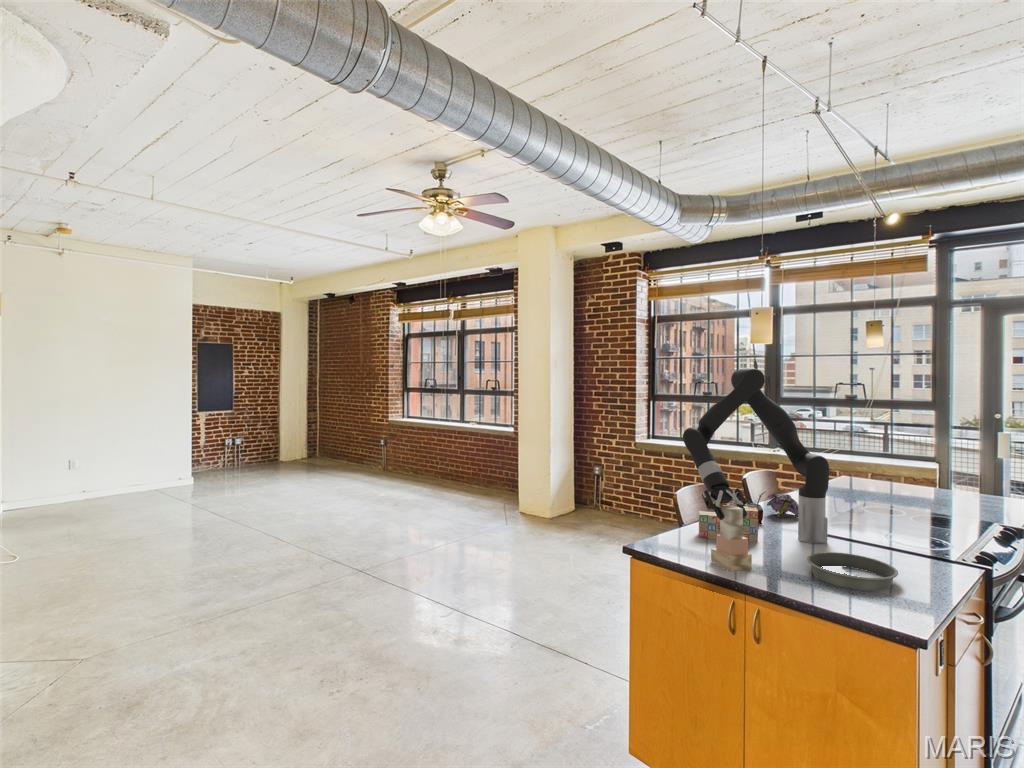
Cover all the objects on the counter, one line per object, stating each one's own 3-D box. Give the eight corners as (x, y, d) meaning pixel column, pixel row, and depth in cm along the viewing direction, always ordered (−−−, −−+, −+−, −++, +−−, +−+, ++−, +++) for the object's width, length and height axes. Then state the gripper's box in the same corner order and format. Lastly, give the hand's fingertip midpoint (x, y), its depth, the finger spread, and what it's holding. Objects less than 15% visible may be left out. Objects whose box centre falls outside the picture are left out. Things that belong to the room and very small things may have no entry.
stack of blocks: (698, 538, 220) (699, 506, 220) (698, 533, 226) (698, 503, 226) (758, 543, 213) (758, 510, 213) (756, 538, 219) (756, 507, 219)
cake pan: (900, 599, 160) (900, 584, 160) (803, 582, 173) (803, 568, 173) (896, 573, 181) (896, 559, 181) (809, 560, 194) (810, 547, 194)
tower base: (733, 560, 194) (733, 546, 194) (751, 569, 185) (751, 554, 185) (711, 563, 191) (711, 548, 191) (728, 572, 183) (728, 556, 182)
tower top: (733, 547, 192) (733, 532, 192) (748, 553, 186) (748, 538, 186) (716, 549, 190) (716, 534, 190) (730, 555, 184) (731, 540, 183)
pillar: (732, 534, 190) (732, 505, 190) (742, 538, 186) (742, 508, 185) (719, 535, 189) (720, 506, 189) (729, 539, 184) (729, 509, 184)
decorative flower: (811, 497, 247) (779, 488, 246) (808, 523, 244) (776, 514, 243) (791, 499, 261) (761, 490, 260) (788, 524, 258) (758, 515, 257)
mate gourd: (744, 520, 245) (744, 486, 245) (764, 522, 243) (764, 487, 242) (746, 525, 238) (746, 489, 238) (766, 526, 236) (766, 491, 235)
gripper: (699, 471, 192) (720, 513, 182) (735, 469, 196) (757, 510, 185) (690, 484, 198) (710, 525, 187) (725, 482, 201) (746, 522, 191)
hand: (733, 517), depth 186 cm, fingers open, 8 cm apart
